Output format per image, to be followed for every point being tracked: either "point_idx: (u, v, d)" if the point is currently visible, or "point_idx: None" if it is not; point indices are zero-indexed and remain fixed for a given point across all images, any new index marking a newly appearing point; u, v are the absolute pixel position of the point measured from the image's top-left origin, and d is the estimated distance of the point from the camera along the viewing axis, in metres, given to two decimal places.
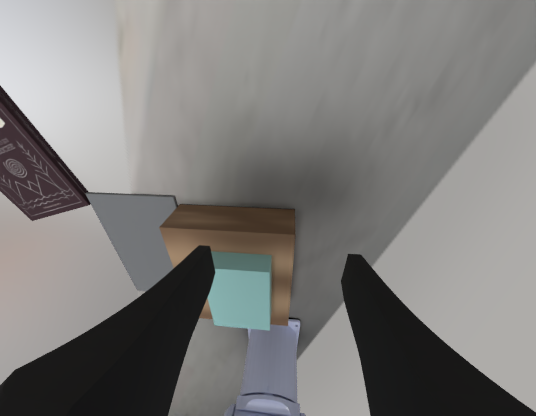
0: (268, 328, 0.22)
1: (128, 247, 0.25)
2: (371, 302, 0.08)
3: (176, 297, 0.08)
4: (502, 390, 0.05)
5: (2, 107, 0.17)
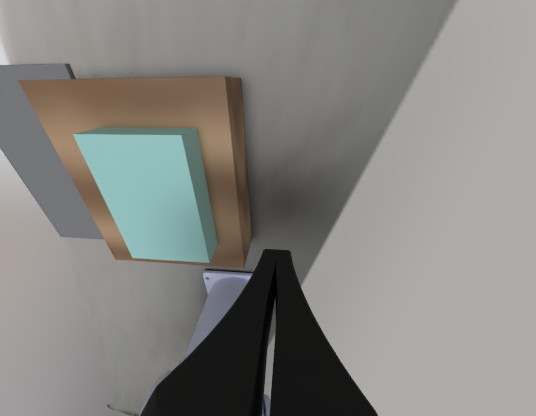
0: (206, 258, 0.15)
1: (30, 164, 0.19)
2: None
3: (267, 305, 0.08)
4: (344, 373, 0.05)
5: None
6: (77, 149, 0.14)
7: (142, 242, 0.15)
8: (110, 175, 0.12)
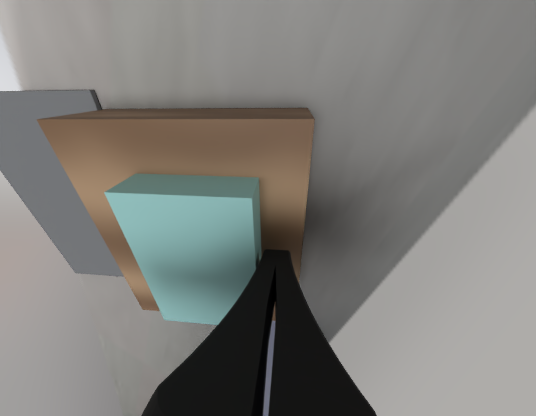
0: None
1: (43, 200, 0.16)
2: (276, 295, 0.08)
3: (268, 305, 0.08)
4: (343, 373, 0.05)
5: None
6: None
7: (179, 306, 0.12)
8: (148, 238, 0.09)
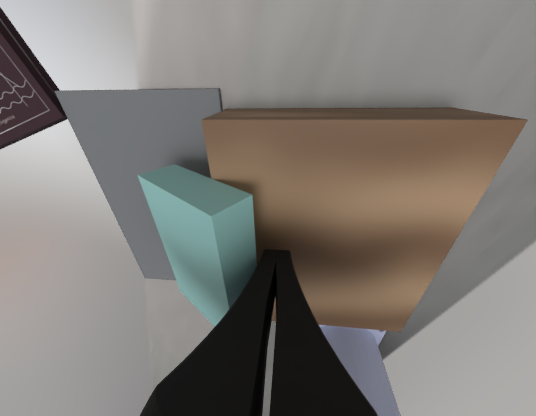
0: None
1: (132, 203, 0.16)
2: None
3: (266, 305, 0.08)
4: (344, 373, 0.05)
5: None
6: None
7: (185, 286, 0.13)
8: (161, 221, 0.11)
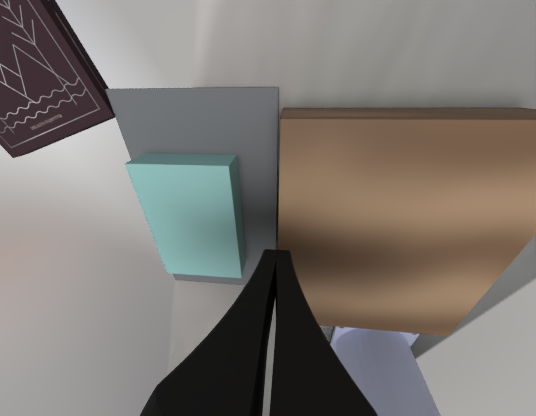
0: None
1: None
2: None
3: (266, 305, 0.08)
4: (344, 373, 0.05)
5: None
6: (311, 206, 0.10)
7: None
8: None
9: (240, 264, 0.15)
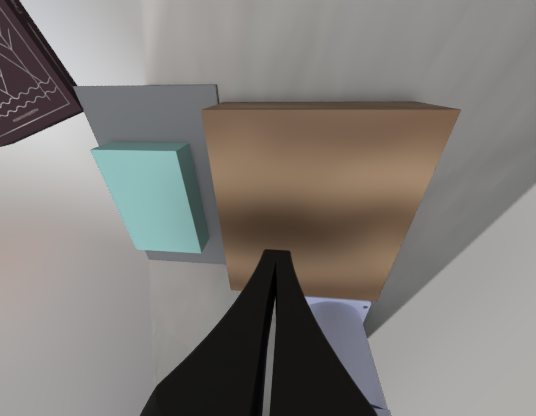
0: None
1: None
2: None
3: (267, 305, 0.08)
4: (344, 373, 0.05)
5: None
6: (239, 182, 0.12)
7: None
8: None
9: (199, 240, 0.17)
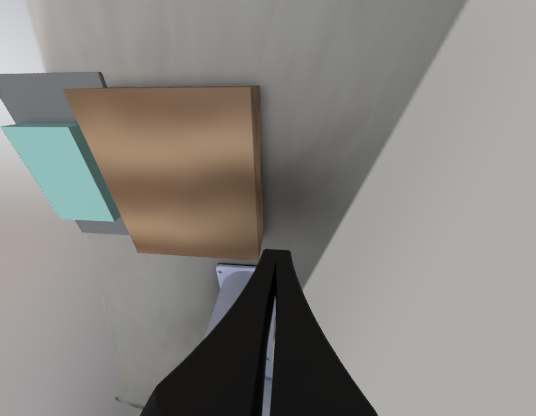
0: None
1: None
2: None
3: (267, 305, 0.08)
4: (344, 373, 0.05)
5: None
6: (111, 150, 0.15)
7: None
8: None
9: (110, 209, 0.20)
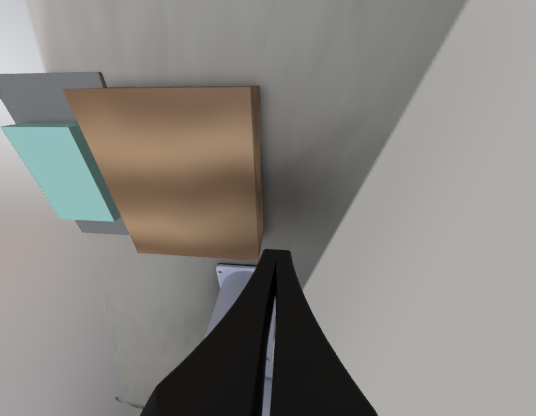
0: None
1: None
2: None
3: (267, 305, 0.08)
4: (344, 373, 0.05)
5: None
6: (111, 150, 0.15)
7: None
8: None
9: (110, 209, 0.20)
